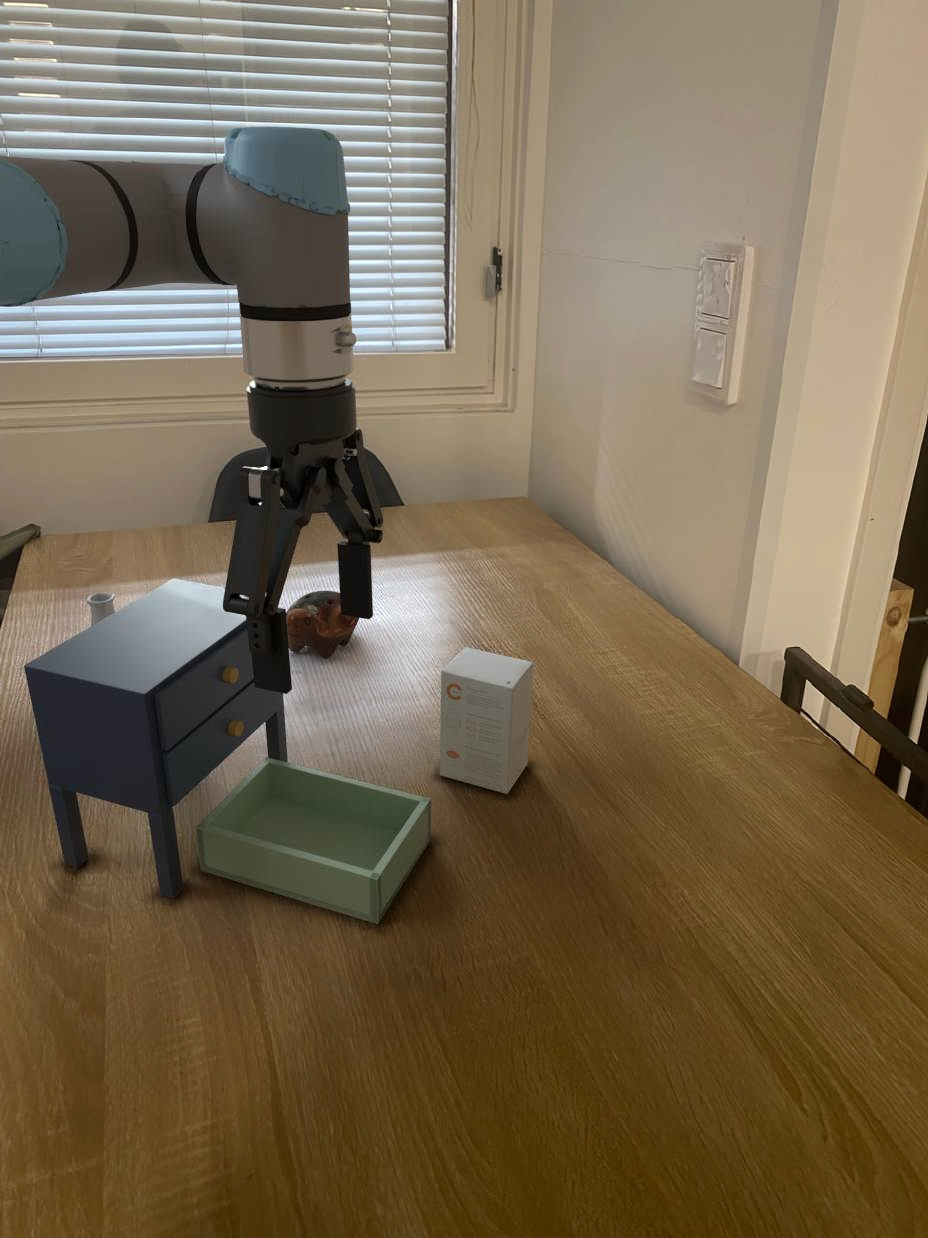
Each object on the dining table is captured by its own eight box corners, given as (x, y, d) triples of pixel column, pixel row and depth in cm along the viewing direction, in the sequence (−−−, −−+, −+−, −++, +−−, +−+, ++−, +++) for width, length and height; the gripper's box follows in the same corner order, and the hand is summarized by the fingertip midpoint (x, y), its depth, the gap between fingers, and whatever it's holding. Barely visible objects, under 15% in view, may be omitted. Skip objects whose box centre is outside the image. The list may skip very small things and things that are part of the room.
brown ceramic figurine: (264, 666, 119) (259, 609, 116) (315, 625, 132) (311, 573, 129) (332, 675, 116) (328, 617, 113) (377, 633, 130) (374, 579, 127)
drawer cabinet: (64, 864, 84) (23, 665, 75) (194, 751, 101) (173, 577, 92) (187, 903, 80) (159, 698, 71) (300, 779, 97) (289, 600, 88)
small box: (528, 764, 101) (535, 661, 95) (507, 796, 95) (513, 688, 90) (461, 746, 103) (464, 645, 98) (437, 776, 98) (439, 670, 92)
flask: (124, 684, 114) (113, 612, 109) (70, 678, 115) (57, 606, 110) (151, 657, 120) (141, 588, 116) (100, 651, 121) (88, 583, 117)
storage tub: (200, 870, 84) (195, 827, 82) (269, 797, 94) (266, 756, 92) (378, 924, 78) (377, 879, 76) (430, 840, 89) (431, 798, 86)
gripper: (248, 421, 52) (277, 737, 61) (420, 355, 73) (422, 597, 82) (139, 410, 54) (183, 716, 63) (336, 348, 75) (348, 584, 84)
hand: (318, 649), depth 73 cm, fingers open, 13 cm apart
